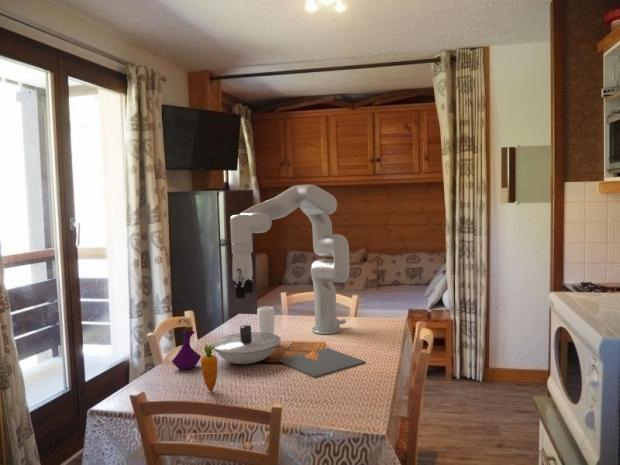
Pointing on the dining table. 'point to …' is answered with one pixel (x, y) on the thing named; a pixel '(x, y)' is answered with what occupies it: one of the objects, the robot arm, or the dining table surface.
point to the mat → (322, 362)
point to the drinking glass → (266, 319)
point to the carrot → (209, 367)
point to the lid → (246, 342)
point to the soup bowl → (246, 357)
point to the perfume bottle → (186, 351)
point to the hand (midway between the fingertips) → (244, 295)
